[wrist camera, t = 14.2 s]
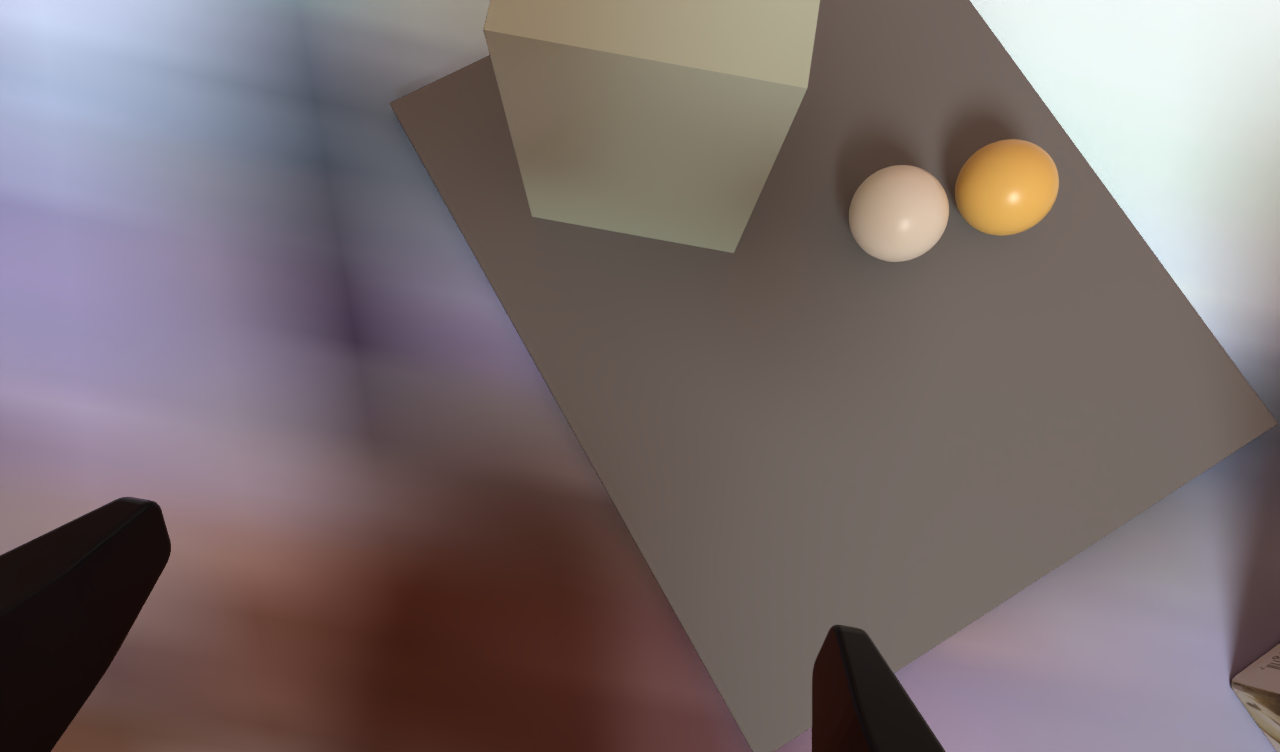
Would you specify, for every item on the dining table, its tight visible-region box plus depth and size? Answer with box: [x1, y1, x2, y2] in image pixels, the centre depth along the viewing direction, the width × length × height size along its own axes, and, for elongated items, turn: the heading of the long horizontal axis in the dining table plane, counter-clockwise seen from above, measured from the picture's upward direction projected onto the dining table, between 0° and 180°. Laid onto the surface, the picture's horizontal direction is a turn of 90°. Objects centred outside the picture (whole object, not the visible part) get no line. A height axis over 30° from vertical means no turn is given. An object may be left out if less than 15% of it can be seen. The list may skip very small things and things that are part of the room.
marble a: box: [849, 165, 949, 262], centre depth 24 cm, size 3×3×3 cm
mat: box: [390, 0, 1278, 752], centre depth 25 cm, size 24×20×1 cm
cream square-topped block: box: [484, 0, 820, 253], centre depth 21 cm, size 7×7×10 cm
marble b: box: [955, 139, 1059, 236], centre depth 24 cm, size 3×3×3 cm
